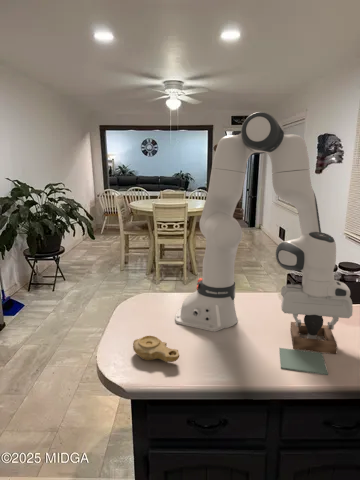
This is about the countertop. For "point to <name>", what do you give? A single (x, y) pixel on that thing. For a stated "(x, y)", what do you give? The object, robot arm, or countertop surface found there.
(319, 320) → the light bulb
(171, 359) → the oil lamp
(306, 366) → the rubber mat
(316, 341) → the socket block
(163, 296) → the countertop surface
